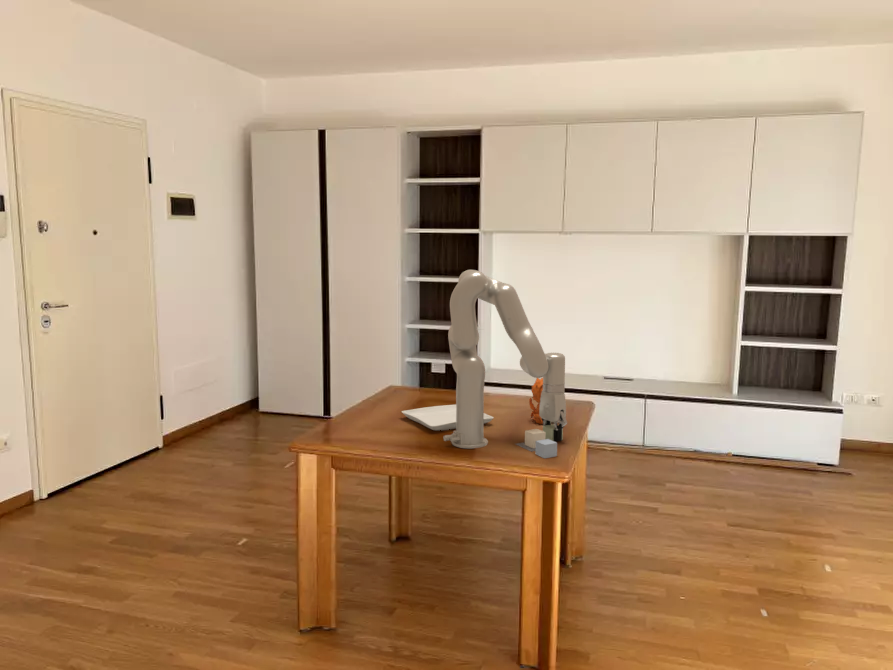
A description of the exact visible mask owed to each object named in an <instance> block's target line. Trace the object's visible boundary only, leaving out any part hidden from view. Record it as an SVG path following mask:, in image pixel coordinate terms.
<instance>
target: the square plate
mask: <svg viewBox="0 0 893 670" xmlns="http://www.w3.org/2000/svg"><path fill="white" fill-rule="evenodd" d="M400 413H402V414H403V415H404V416H405V417H406V418H407V419H409V420H412V421H414V422H416V423H419V424H420V425H423V426H424V427H426V428H428V429H430V430H433V431H440V430H441V431H449V429H450V430H454V429H455V430H456V403H455V404H447V405H446V404H445V405H434V406H427V407H426V406H425V407H420V408H414V409H413V408H412V409H407V410H401V412H400ZM494 418H495V417H494V416H492V415H489V414H488V413H485V412H484V424H487V423H490V422H491V421H492V420H493V419H494Z"/></svg>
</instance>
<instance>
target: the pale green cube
mask: <svg viewBox="0 0 893 670" xmlns="http://www.w3.org/2000/svg"><path fill="white" fill-rule="evenodd" d="M554 430H555V426H554V423H551V425H544V426H543V425H542V431H544V432H546V436H545V439H549V440H552V441H554ZM563 439H564V429H563V430H562V440H561V441H563ZM554 442H555V441H554Z"/></svg>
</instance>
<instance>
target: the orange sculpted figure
mask: <svg viewBox="0 0 893 670" xmlns="http://www.w3.org/2000/svg"><path fill="white" fill-rule="evenodd" d="M542 390H543V377H541V378H535V382H534V383H533V385H531V393H532V397H530V398H529V402H528V403H529V408H530V409H531V410H532V411H531V413H530V419H533V421H535V423H536V424H539V425H543V421H542V418H541V417H540V416H539V408H540V398H541V393H542ZM533 401H535V402H536V403H537V405H536V406H535V405H534V403H533Z"/></svg>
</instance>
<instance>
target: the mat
mask: <svg viewBox="0 0 893 670" xmlns="http://www.w3.org/2000/svg"><path fill="white" fill-rule="evenodd" d="M515 445H516V446H519V447H521V448H523V449H525V450H527V451H529V452H532V453H533V452H535V449H536V448H531V447H529V446H527V445H525V441H523V442H517V443H515Z"/></svg>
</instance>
